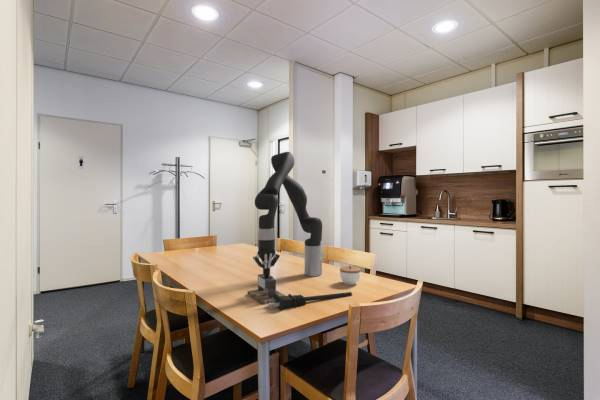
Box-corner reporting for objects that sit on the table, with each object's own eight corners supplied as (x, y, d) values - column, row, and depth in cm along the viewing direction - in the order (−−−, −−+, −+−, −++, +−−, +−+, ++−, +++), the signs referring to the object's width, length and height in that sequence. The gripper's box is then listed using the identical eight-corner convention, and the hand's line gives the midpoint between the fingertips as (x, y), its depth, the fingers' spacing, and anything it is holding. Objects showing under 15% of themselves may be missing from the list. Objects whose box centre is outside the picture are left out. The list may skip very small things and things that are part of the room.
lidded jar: (361, 281, 170) (361, 263, 170) (359, 287, 160) (359, 268, 160) (341, 279, 173) (341, 262, 173) (338, 285, 163) (338, 267, 163)
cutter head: (258, 291, 146) (258, 275, 146) (268, 289, 149) (268, 273, 149) (264, 295, 140) (264, 278, 140) (275, 293, 143) (274, 277, 143)
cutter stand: (247, 294, 148) (247, 275, 148) (270, 290, 154) (270, 271, 154) (261, 304, 135) (261, 283, 134) (286, 299, 141) (286, 279, 141)
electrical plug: (262, 306, 133) (263, 294, 133) (345, 296, 151) (345, 286, 151) (270, 313, 125) (270, 300, 125) (356, 302, 143) (356, 291, 144)
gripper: (275, 236, 151) (275, 272, 151) (249, 238, 144) (249, 276, 144) (283, 238, 144) (283, 276, 145) (256, 240, 137) (256, 280, 138)
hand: (266, 276), depth 144 cm, fingers closed
